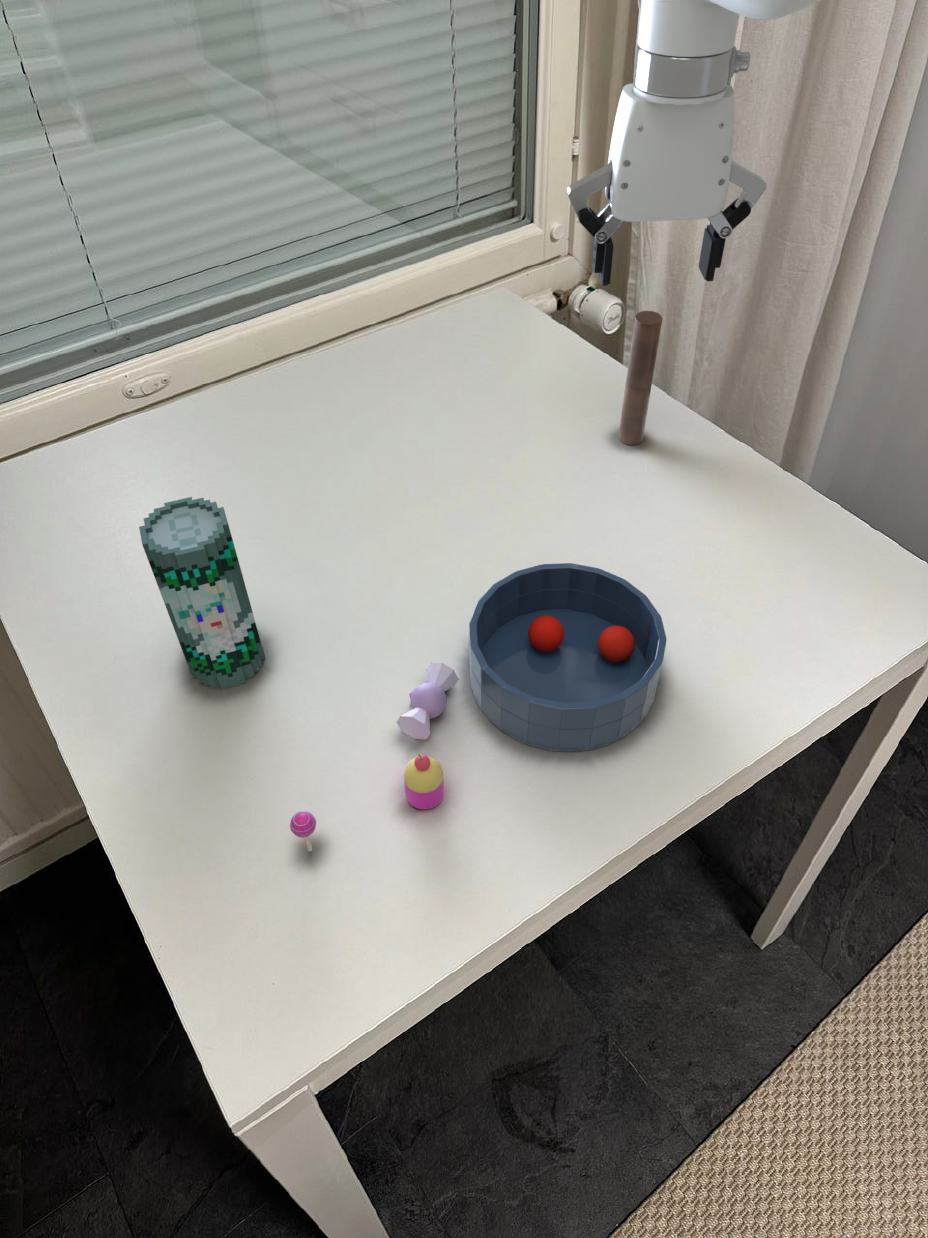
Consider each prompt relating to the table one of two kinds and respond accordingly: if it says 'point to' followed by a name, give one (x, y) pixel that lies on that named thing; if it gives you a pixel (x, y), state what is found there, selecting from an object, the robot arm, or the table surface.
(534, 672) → the bowl
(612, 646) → the tomato
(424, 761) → the candy
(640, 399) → the stick
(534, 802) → the table surface
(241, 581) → the can
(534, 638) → the tomato
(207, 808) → the table surface
